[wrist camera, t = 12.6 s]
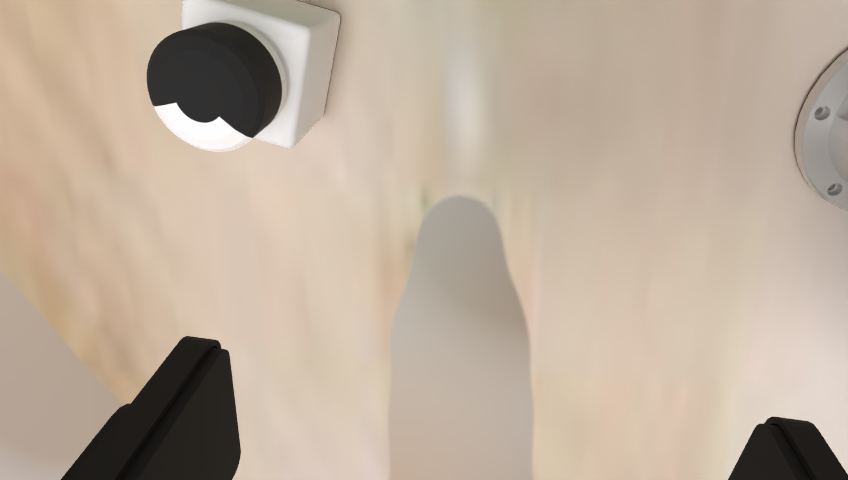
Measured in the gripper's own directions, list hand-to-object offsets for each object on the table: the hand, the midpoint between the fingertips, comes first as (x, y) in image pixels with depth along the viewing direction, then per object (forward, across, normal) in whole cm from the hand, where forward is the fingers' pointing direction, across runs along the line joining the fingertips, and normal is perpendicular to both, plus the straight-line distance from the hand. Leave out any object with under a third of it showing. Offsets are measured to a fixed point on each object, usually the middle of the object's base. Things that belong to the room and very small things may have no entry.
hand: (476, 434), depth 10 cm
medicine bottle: (+31, +14, 0) cm, 34 cm away
